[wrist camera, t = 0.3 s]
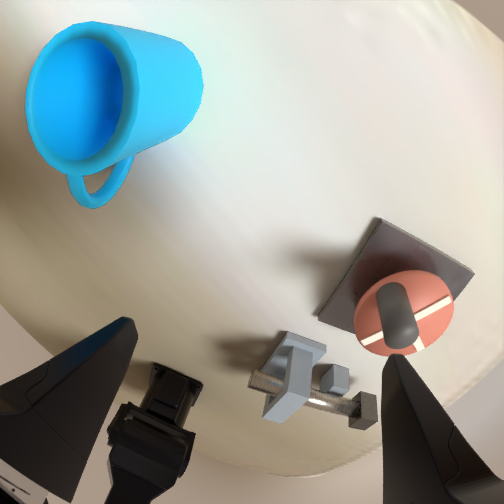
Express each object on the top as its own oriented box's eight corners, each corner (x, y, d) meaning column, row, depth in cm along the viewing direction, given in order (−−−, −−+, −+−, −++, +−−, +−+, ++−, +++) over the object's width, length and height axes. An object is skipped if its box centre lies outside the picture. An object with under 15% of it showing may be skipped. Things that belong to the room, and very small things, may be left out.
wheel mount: (406, 348, 25) (408, 357, 24) (318, 315, 25) (317, 325, 24) (472, 270, 20) (477, 278, 19) (381, 218, 20) (384, 225, 19)
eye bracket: (324, 392, 31) (322, 437, 26) (260, 371, 30) (249, 417, 25) (360, 357, 27) (363, 407, 22) (287, 331, 27) (279, 383, 22)
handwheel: (456, 313, 21) (477, 364, 16) (377, 353, 24) (383, 407, 19) (427, 242, 18) (456, 293, 14) (333, 294, 22) (335, 352, 17)
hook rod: (363, 405, 28) (364, 430, 25) (250, 370, 27) (243, 398, 25) (376, 395, 26) (377, 421, 24) (259, 358, 26) (252, 386, 23)
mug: (120, 30, 16) (41, 21, 9) (220, 48, 16) (163, 28, 9) (90, 170, 22) (21, 209, 15) (171, 203, 22) (114, 258, 16)
